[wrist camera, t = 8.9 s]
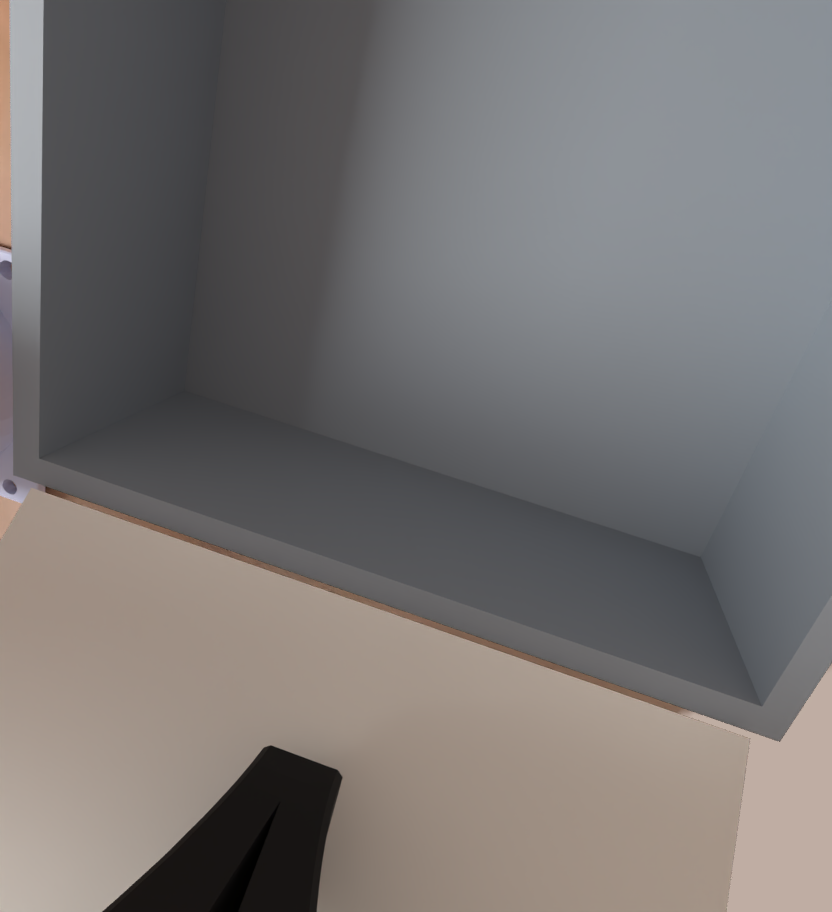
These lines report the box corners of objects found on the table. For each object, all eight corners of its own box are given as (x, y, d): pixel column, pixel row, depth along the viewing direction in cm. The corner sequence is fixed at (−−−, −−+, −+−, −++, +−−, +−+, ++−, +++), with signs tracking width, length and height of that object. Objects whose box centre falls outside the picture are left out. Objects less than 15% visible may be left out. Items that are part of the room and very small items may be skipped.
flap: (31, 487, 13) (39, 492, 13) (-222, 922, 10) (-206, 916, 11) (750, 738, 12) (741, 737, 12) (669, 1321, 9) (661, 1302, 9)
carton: (173, 399, 19) (13, 475, 13) (248, -349, 12) (2, -789, 7) (709, 573, 17) (779, 742, 12) (1104, -185, 11) (1657, -592, 5)
